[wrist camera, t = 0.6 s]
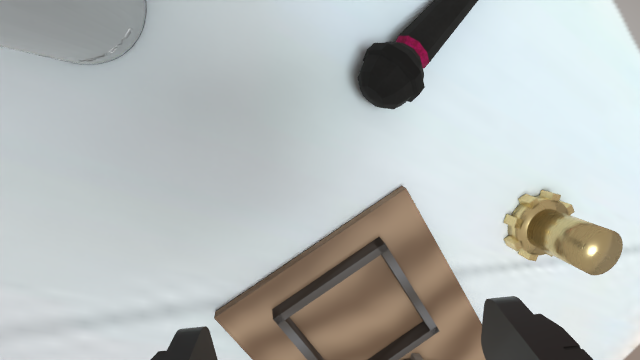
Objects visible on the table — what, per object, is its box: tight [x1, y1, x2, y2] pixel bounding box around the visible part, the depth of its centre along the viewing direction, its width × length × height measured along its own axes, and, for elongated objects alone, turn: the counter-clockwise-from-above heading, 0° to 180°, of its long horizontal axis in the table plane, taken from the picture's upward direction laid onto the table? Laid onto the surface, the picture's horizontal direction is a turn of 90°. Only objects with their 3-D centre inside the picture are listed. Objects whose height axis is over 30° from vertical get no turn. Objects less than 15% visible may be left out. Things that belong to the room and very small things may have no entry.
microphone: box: [358, 0, 478, 109], centre depth 27 cm, size 6×6×20 cm
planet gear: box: [504, 190, 623, 275], centre depth 32 cm, size 8×8×8 cm
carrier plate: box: [214, 186, 486, 360], centre depth 33 cm, size 26×22×4 cm
